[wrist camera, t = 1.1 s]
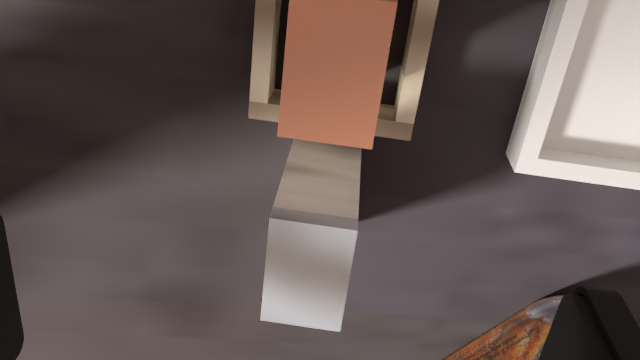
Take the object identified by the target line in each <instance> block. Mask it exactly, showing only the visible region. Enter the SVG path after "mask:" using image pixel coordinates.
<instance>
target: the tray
mask: <svg viewBox="0 0 640 360" xmlns="http://www.w3.org/2000/svg"><path fill="white" fill-rule="evenodd" d="M506 156H507V158H508V160H509V162H510V164H511V166H512V168H513V170H514V172H516V173H523V174H530V175H537V176H544V177H551V178H558V179H565V180H572V181H580V182H587V183H594V184H601V185H608V186H615V187H622V188H629V189H636V190H640V0H550V4H549V7H548V10H547V14H546V17H545V21H544V24H543V27H542V31H541V34H540V38H539V41H538V44H537V48H536V51H535V55H534V58H533V61H532V65H531V68H530V72H529V75H528V78H527V82H526V85H525V89H524V92H523V96H522V99H521V102H520V106H519V109H518V113H517V116H516V119H515V123H514V126H513V130H512V133H511V136H510V140H509V143H508V147H507V150H506Z"/></svg>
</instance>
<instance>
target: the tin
mask: <svg viewBox="0 0 640 360" xmlns="http://www.w3.org/2000/svg"><path fill="white" fill-rule="evenodd" d="M563 296H564V295H558V296H552V297H547V298H544V299H541V300H538V301H536V302H534V303H532V304H530V305H528V306H527V307H525V308H524V309H522V310H520V311H519V312H517V313H516V314H514V315H513V316H511V317H510V318H508V319H506V320H505V321H503V322H502V323H500V324H499V325H497V326H496V327H494V328H492V329H491V330H489V331H488V332H486V333H485V334H483V335H481V336H480V337H478V338H477V339H475V340H473V341H472V342H470V343H469V344H467V345H465V346H464V347H462V348H461V349H459V350H457V351H456V352H454V353H453V354H451V355H450V356H448V357H447V358H445V359H444V360H538V359H539V356H540V354H541V351H542V348H543V346H544V343H545V341H546V338H547V335H548V333H549V330H550V328H551V325H552V322H553V320H554V317H555V314H556V312H557V309H558V307H559V304H560V301H561V299H562V297H563Z"/></svg>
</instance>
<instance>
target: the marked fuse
mask: <svg viewBox="0 0 640 360" xmlns="http://www.w3.org/2000/svg"><path fill="white" fill-rule="evenodd" d="M397 4H398V2H397V0H289V9H288V20H287V31H286V42H285V53H284V65H283V76H282V87H281V98H280V109H279V121H278V132H277V136H278V137H285V138H292V139H299V140H306V141H313V142H321V143H328V144H335V145H342V146H349V147H356V148H363V149H370V150H372V147H373V142H374V136H375V130H376V124H377V119H378V113H379V107H380V102H381V96H382V90H383V84H384V79H385V73H386V67H387V61H388V56H389V50H390V44H391V39H392V33H393V27H394V21H395V16H396V10H397Z"/></svg>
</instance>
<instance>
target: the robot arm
mask: <svg viewBox="0 0 640 360" xmlns="http://www.w3.org/2000/svg"><path fill="white" fill-rule="evenodd" d="M23 340H24V333H23V328H22V322H21V316H20V311H19V305H18V299H17V294H16V288H15V283H14V277H13V271H12V266H11V260H10V254H9V249H8V243H7V237H6V232H5V226H4V222H3V218H2V217H1V216H0V360H16V358H17V357H18V355H19V353H20V351H21V349H22V345H23ZM538 360H640V328H639V326H638V324H637V323H636V321H635V319H634V318H633V316H632V314H631V312H630V311H629V309H628V307H627V305H626V304H625V302H624V300H623V298H622V297H621V296H620V294H619V293H617V292H615V291H609V290H602V289H595V288H587V287H578V288H577V289H576V290H575V291H574V293H573V294H565V295H564V296H563V297H562V299H561V301H560V304H559V307H558V309H557V312H556V314H555V317H554V320H553V322H552V325H551V328H550V330H549V333H548V335H547V338H546V341H545V343H544V346H543V348H542V351H541V354H540V356H539V359H538Z"/></svg>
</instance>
